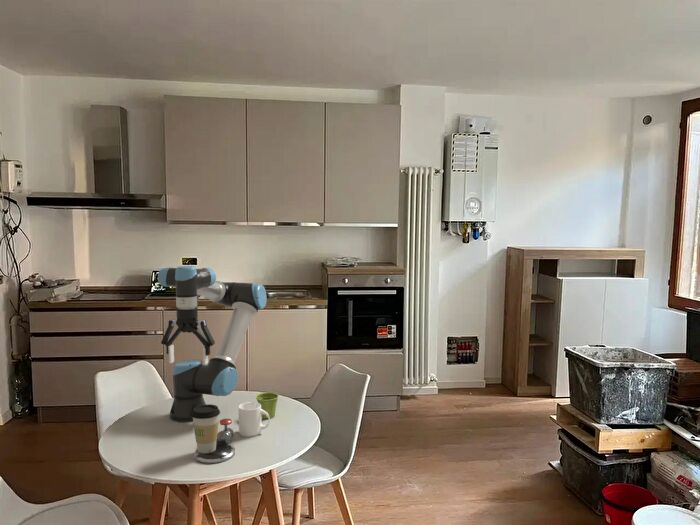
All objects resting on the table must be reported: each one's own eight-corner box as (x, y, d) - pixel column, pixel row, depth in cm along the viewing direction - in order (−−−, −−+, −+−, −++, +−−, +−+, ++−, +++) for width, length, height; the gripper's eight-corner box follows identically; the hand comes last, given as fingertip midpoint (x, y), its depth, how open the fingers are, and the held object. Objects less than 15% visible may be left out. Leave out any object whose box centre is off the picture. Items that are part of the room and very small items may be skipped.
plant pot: (264, 410, 230) (264, 391, 229) (283, 414, 226) (282, 394, 225) (251, 418, 221) (251, 398, 221) (270, 422, 217) (270, 401, 217)
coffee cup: (194, 444, 194) (193, 404, 192) (222, 443, 195) (221, 403, 194) (190, 456, 184) (188, 414, 183) (219, 454, 185) (218, 412, 184)
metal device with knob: (210, 439, 202) (210, 417, 201) (246, 441, 200) (245, 419, 199) (187, 464, 182) (186, 439, 182) (226, 467, 180) (225, 442, 180)
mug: (267, 437, 202) (267, 410, 201) (236, 436, 203) (235, 409, 202) (272, 428, 211) (271, 402, 210) (242, 427, 212) (241, 401, 211)
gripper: (150, 308, 197) (152, 364, 199) (214, 310, 193) (216, 367, 195) (160, 304, 204) (162, 359, 206) (222, 306, 200) (224, 361, 202)
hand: (188, 363), depth 200 cm, fingers open, 13 cm apart
